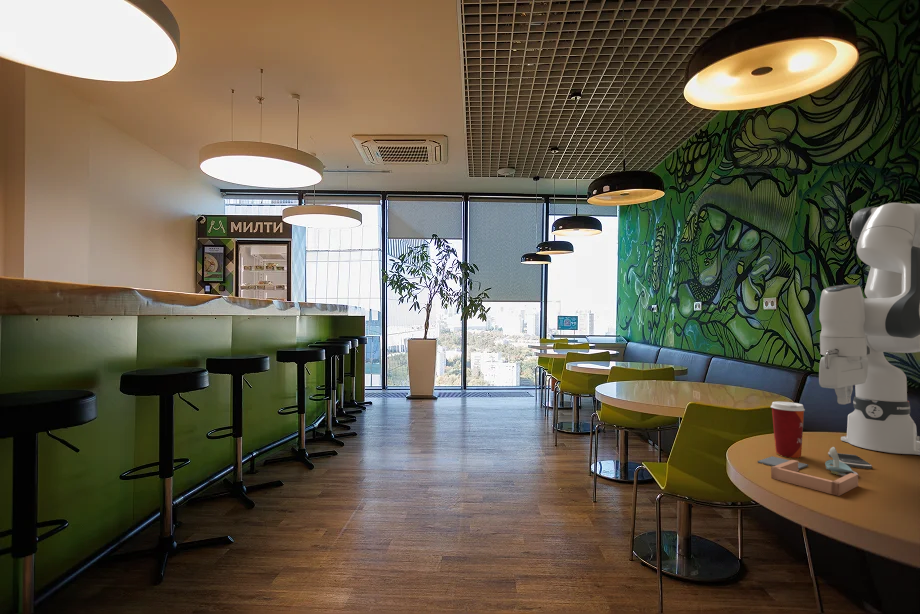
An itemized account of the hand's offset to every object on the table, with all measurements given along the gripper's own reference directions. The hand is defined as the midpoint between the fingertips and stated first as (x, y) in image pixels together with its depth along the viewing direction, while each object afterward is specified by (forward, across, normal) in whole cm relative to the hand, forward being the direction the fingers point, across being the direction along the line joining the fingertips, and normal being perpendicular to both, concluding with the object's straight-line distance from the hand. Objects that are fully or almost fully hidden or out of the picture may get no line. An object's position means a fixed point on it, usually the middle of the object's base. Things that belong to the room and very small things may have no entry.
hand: (844, 403), depth 112 cm
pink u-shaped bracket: (+16, -20, 0) cm, 25 cm away
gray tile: (+16, -11, +9) cm, 21 cm away
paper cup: (+16, 0, +12) cm, 20 cm away
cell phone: (+17, +7, +1) cm, 18 cm away
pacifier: (+16, -7, -1) cm, 18 cm away
